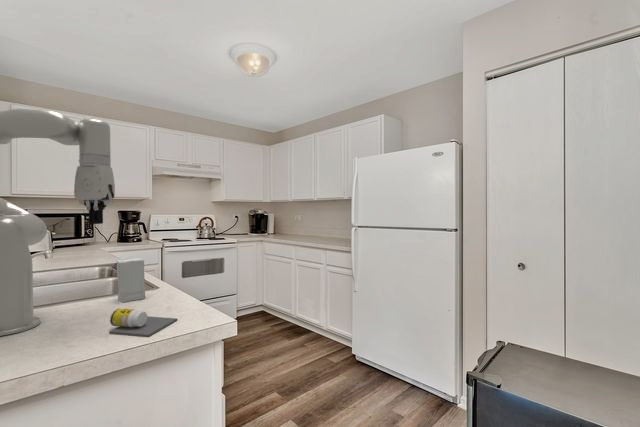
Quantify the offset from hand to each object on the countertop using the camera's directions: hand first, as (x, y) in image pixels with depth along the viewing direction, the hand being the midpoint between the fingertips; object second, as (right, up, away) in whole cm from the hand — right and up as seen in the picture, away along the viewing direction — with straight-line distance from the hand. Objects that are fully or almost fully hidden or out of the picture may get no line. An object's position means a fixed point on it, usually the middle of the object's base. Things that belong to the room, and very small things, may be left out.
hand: (96, 223), depth 93 cm
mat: (+17, -29, -4) cm, 34 cm away
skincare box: (-3, -29, +21) cm, 36 cm away
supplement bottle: (+9, -26, -5) cm, 28 cm away
